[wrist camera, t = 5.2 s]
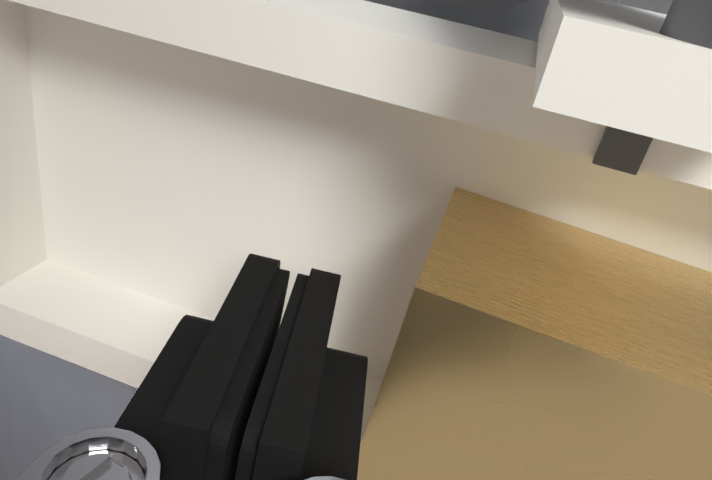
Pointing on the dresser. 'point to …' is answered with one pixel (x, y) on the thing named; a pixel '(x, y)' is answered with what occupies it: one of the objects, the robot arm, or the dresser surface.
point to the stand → (502, 12)
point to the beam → (320, 154)
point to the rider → (545, 358)
